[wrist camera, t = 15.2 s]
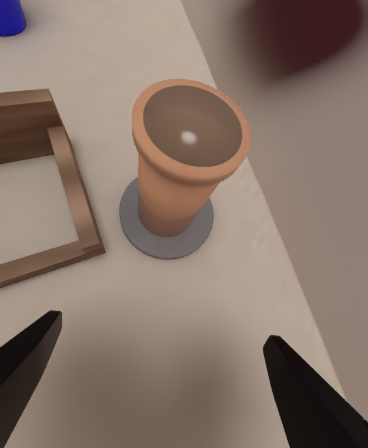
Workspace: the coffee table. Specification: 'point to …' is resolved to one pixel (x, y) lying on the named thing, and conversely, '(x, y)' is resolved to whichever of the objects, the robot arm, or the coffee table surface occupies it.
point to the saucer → (158, 244)
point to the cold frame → (73, 184)
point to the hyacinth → (11, 18)
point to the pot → (184, 150)
